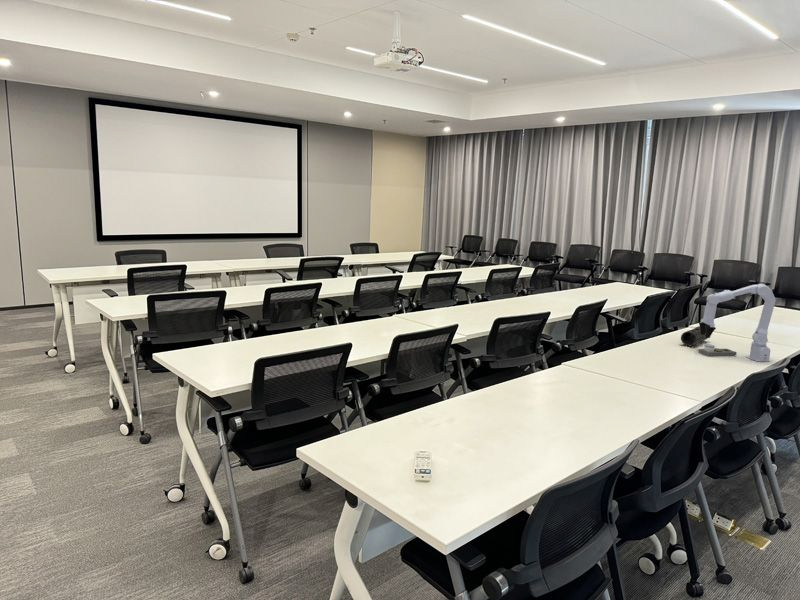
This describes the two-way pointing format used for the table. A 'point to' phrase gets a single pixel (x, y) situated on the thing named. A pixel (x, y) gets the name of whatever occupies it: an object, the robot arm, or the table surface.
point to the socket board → (718, 352)
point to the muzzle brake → (692, 337)
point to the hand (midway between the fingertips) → (704, 336)
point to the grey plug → (709, 347)
